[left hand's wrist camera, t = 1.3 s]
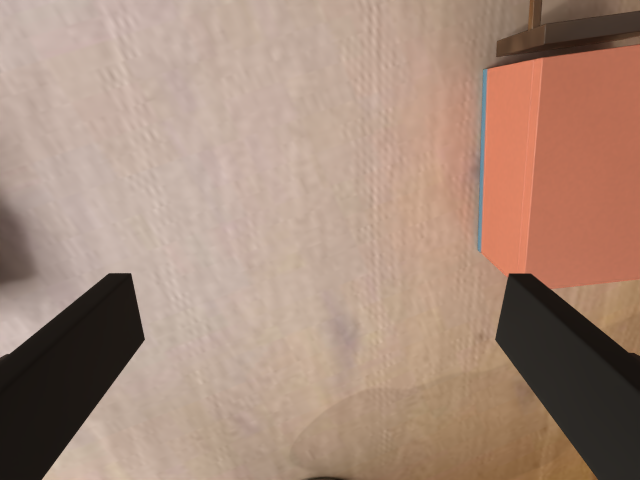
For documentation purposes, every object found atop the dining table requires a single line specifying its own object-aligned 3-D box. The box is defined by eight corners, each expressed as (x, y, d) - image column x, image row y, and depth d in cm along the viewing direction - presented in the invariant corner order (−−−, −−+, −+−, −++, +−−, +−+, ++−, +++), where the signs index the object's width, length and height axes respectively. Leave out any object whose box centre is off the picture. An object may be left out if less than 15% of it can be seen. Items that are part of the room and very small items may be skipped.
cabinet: (483, 69, 32) (542, 57, 23) (616, 51, 31) (725, 32, 23) (477, 250, 38) (523, 292, 29) (588, 237, 37) (667, 276, 29)
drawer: (499, -34, 28) (553, -75, 22) (633, -54, 28) (729, -102, 21) (489, 222, 35) (527, 248, 29) (594, 209, 35) (656, 233, 29)
